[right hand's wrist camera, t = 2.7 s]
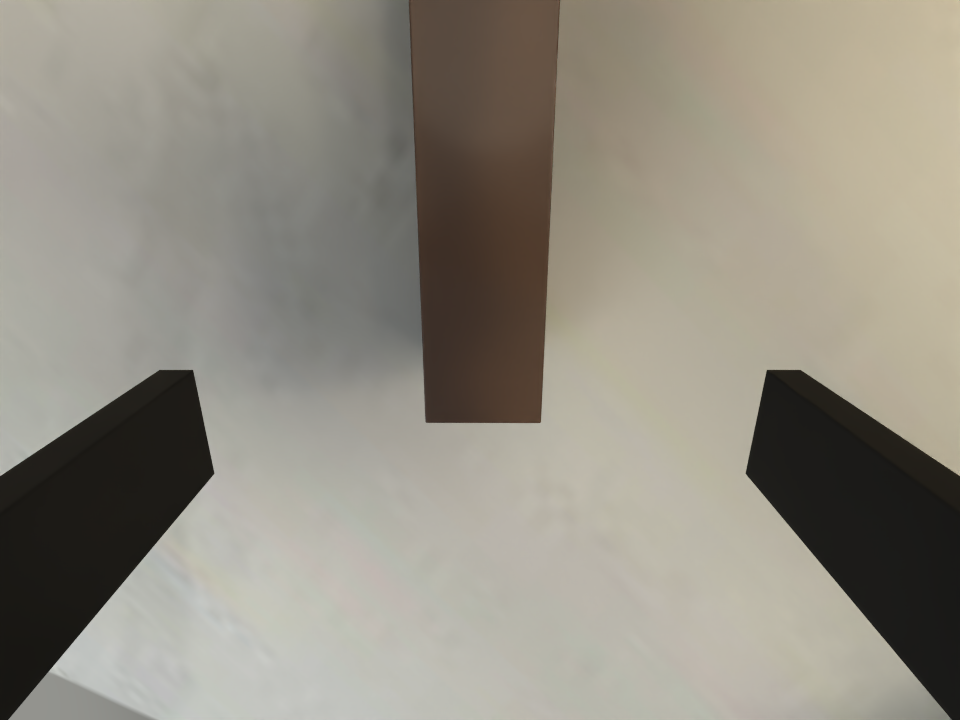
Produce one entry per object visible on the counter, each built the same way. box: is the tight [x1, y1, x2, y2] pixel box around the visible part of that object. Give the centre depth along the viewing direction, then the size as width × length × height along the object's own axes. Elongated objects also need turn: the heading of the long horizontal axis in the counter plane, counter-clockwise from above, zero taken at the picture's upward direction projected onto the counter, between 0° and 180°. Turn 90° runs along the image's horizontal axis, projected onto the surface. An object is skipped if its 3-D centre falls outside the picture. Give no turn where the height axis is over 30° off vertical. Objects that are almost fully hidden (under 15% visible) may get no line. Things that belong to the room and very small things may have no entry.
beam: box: [409, 0, 560, 423], centre depth 21 cm, size 5×24×8 cm, turn 0°
